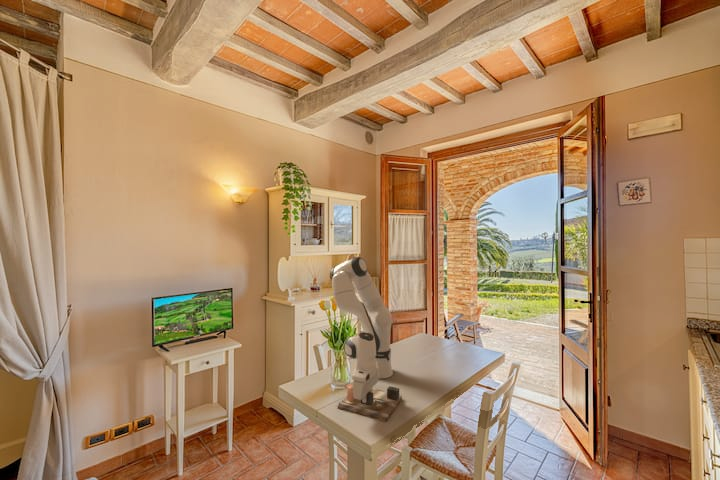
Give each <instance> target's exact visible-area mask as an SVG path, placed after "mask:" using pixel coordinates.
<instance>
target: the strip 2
mask: <svg viewBox="0 0 720 480" xmlns="http://www.w3.org/2000/svg"><path fill="white" fill-rule="evenodd" d="M386 391H387V393H386V392H382V391H377V390H373V391H372V393H373V399H377V400H381V401H385V402H389V403H393V404H395V405H396V404H397V403H398V401H399V400H400V398H401V396H399V394H400V388H399V387H395V386H391V385H390V386H388V387H387V388H386Z"/></svg>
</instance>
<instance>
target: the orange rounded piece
mask: <svg viewBox="0 0 720 480" xmlns="http://www.w3.org/2000/svg"><path fill="white" fill-rule="evenodd" d="M346 396H347V400H348V401H349V402H356V401H357V400H358V399H355V398H354V397H353V383H350V384H347V385H346Z"/></svg>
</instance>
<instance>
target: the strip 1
mask: <svg viewBox="0 0 720 480" xmlns="http://www.w3.org/2000/svg"><path fill="white" fill-rule="evenodd" d="M366 398H367V402H366V403H363V402H362V400H357V401H356V402H349V401H348V400H347V395H346V396H345V397H344V398H343V399H342V400H341V401H340V402H343V403H347V404H350V405H354V406H358V407H362V408H366V409H371V407H372V406H373V405H374V404H375V400H373V393H372V392H368V393H367V394H366Z"/></svg>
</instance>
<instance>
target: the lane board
mask: <svg viewBox="0 0 720 480" xmlns="http://www.w3.org/2000/svg"><path fill="white" fill-rule="evenodd" d="M373 390H377V391H382V392H386V393H387V390H382V389H377V388H374V387H373V388H372V391H373ZM399 396H401V398H400V400H399V401H398V403H397V404H396V405H395V404H393V403H389V402H385V401H381V400H377V399H373V400H375V404H374V405H373V406H372V407H371V409H366V408H362V407H358V406H354V405H350V404H347V403H343V402H341V401H339V402H338V404H337V409H339V410H343V411H347V412H350V413H354V414H357V415H361V416H364V417H369V418H372V419H376V420H380V421H384V422H388V420H389V419H390V418H391V416H392V415H393V412H395V410H396V408H397V407H398V406H399V404H400V402H401V401H402V399H403V398H402V397H403V394H400V393H399Z"/></svg>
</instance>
